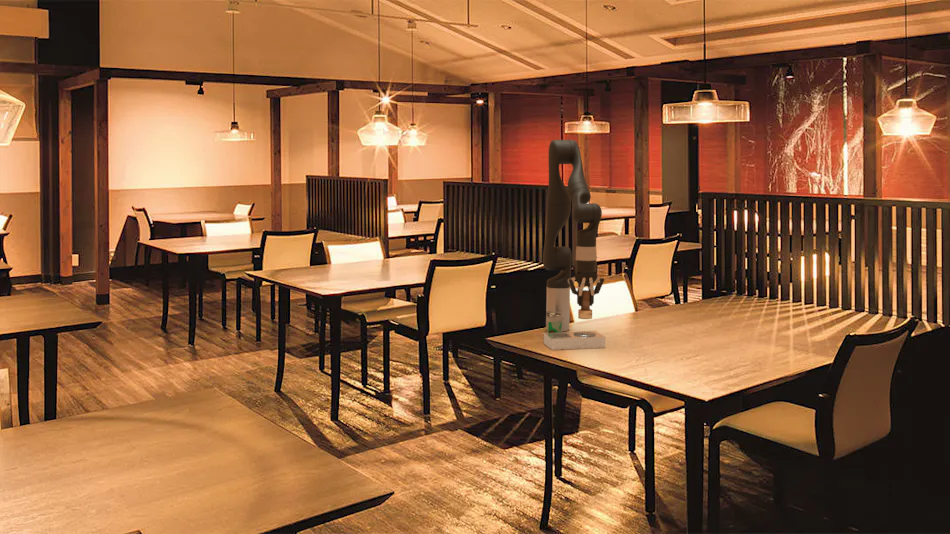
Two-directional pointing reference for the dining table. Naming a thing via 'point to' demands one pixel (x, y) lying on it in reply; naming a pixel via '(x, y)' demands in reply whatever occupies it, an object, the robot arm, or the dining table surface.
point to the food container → (554, 321)
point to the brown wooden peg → (585, 306)
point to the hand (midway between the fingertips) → (585, 305)
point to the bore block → (574, 340)
